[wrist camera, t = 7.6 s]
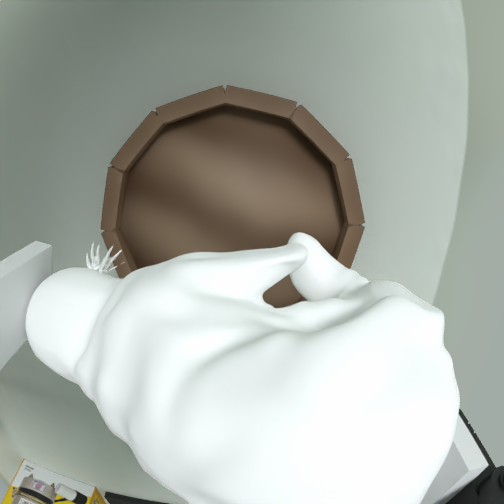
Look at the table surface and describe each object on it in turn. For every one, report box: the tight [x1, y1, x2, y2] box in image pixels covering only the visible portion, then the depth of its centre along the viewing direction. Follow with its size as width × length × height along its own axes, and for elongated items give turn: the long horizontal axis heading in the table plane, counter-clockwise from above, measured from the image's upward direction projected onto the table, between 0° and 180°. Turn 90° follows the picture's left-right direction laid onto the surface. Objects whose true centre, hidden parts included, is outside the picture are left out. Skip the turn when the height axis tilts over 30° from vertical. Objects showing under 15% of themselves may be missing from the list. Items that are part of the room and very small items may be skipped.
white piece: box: [26, 232, 460, 504], centre depth 8 cm, size 6×8×12 cm
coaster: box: [101, 85, 365, 308], centre depth 22 cm, size 18×18×2 cm
